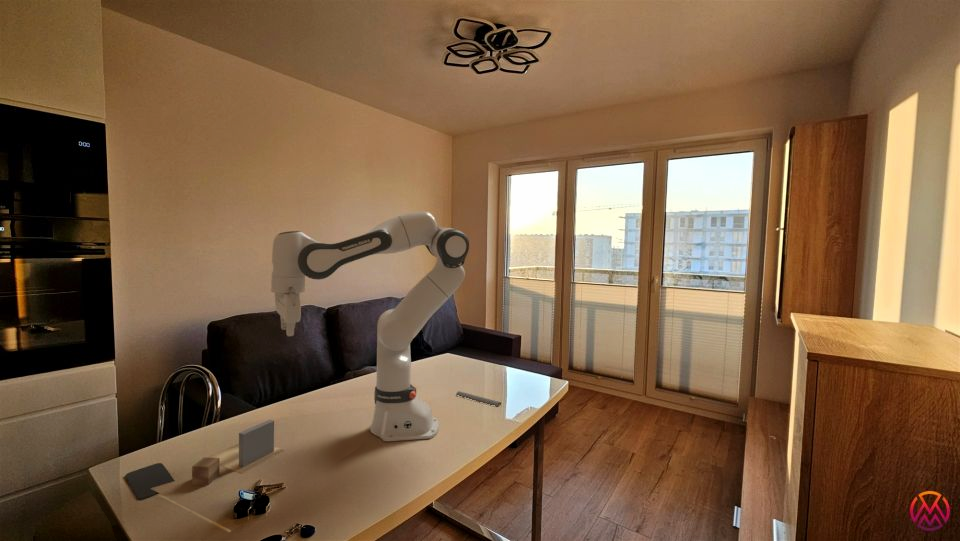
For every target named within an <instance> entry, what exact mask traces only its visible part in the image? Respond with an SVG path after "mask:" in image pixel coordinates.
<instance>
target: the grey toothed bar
mask: <svg viewBox="0 0 960 541" xmlns="http://www.w3.org/2000/svg"><path fill="white" fill-rule="evenodd" d="M456 395H459V396H462V397H466V398H469V399H472V400H476V401H479V402H478V403H480V402H483V403H487V404H490V405H489V406H491V405H495V406H497V407H498V405H499V404H500V405H501V404H502V402H501V401H498V400H494V399H489V398H487V397H483V396H479V395H474V394H471V393H468V392H464V391H460V390H459V391H457V392H456V394H455V396H456ZM469 399H468V400H469ZM472 400H471V401H472ZM476 401H475V402H476ZM483 403H482V404H483ZM487 404H486V405H487ZM500 405H499V406H500Z"/></svg>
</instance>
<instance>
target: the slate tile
mask: <svg viewBox="0 0 960 541" xmlns="http://www.w3.org/2000/svg"><path fill="white" fill-rule="evenodd" d="M238 444H239V466H241V467H245V466H247V465H249V464H251V463H253V462H255V461H257V460H259V459H261V458H263V457H265V456H266V455H268V454H270V453H272V452H274V447H275V420H272V419H268V420H266V421H264V422H261V423H259V424H257V425H255V426H252V427H249V428H247V429H244V430H242V431H240V432H238Z"/></svg>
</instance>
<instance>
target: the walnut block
mask: <svg viewBox="0 0 960 541" xmlns="http://www.w3.org/2000/svg"><path fill="white" fill-rule="evenodd" d="M220 466H221V465H220V458H208V457H202V458H201V459H200V460H198V461H197V462H196V463H195V464H193V465H192V466H191V475H192V476H191V485H194V486H195V485H196V486H198V485H199V486H200V485H201V486H202V485H203V486H204V485H205V486H209V485H210V484H211V483H212V482H214V481H215V480H216V479H217V478H218V477H220Z"/></svg>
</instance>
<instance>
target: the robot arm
mask: <svg viewBox="0 0 960 541" xmlns="http://www.w3.org/2000/svg"><path fill="white" fill-rule="evenodd" d="M419 246H425V247H426V249H427V251H428V252H429V253H430V254H431V255H432V256H434V257H435V258H436V263H435V264H434V266H433V268H432V269H431V270H430V271H429V272H427V273H426V274H425V275H424V277H422V278H421V279H420V280H419V281H418V282H417V283H416V284H415V285H414V286H413V287H412V288H411V289H410V290H409V291H408V292H407V293H406V295H405V296H404V297H403V298H402V300H401V301H400V302H399V303H398V304H397V305H396V306H395V308H391V309H388V310H386V311H384V312H383V313H382V314H381V315H380V316H379V318H378V320H377V326H376V330H377V331H376V332H377V335H376V384H375V387H374V393H373V394H374V396H373V398H374V404H375V405H374V413H373V418H372V421H371V425H370V429H369V431H370V432H371V433H372V434H373V435H375V436H376V437H379V438H380V439H381V440H382V441H383V442H397V441H398V442H399V441H409V440H410V441H411V440H413V441H414V440H425V439H426V440H428V439H431V438H433V437H435V436H436V435H437V433H438V431H439V428H440V426H439V425H440V424H439V420H438V418H436V417H435V416H433V412H432V408H431V406H430V405H429V404H428V403H427V402H425V401H424V400H422V399H421V398H420V397H418V396H417V385H415V386H413V385H412V383H411V378H412V377H411V374H412V373H411V370H412V358H411V357H412V356H411V343H412V342H413V339H415V338H416V337H417V335H418V334H419V333H420V331H421V330H422V329H423V328H424V327H425V325H426V324H427V322H428V321H429V319H430V318H431V317H433V315H435V313H436V312H437V311H438V310H439V309H440V308H441V307H442V306H443V305H444V304H445V303H446V302H447V301H448V300H449V299H450V298H451V297H452V295H454V294H455V292H456V291H457V290H458V289H459V287H460V286H461V285H462V284H463V281H464V280H465V278H466V271H465V269H464V268H465V267H463V265H464V264H465V260H466V258H467V255H468V253H469V250H470V241H469V238H468V237H467V235H466V234H465V233H464V232H463V231H462V230H459V229H456V228H453V227H440V226H439V225H438V223H437V220H436V218H435V216H433V214H431V212H428V211H427V210H425V211H424V210H423V211H414V212H409V213H404V214H400V215H397V216H395V217H392V218H389V219H387V220H385V221H382V222H381V223H379V224H377V225H376V226H375V227H374V228H372V229H370V231H367V232H366V233H364V234H362V235H359V236H355V237H352V238H349V239H347V240H344V241H339V242H335V243H323V242H320V241H318V240H315V239H314V238H312V237H310V236H309V235H307V234H305V233H304V231H301V230H300V231H299V230H295V231H294V230H293V231H292V230H291V231H283V232H280V233H278V234H276V235H275V237H274V239H273V243H272V250H271V251H272V252H271V263H272V267H273V268H272V272H271V281H270V282H271V288H270V290H271V292H272V293H274V302H275V311H276V312H277V314H278V315H279V316H280V317H279V318H280V328H281V330H282V331H283V330H285V331H286V333H285V334H286V336H287V337H294V335H295V327H296V323H299V322H300V321H301V319H302V318H301V316H302V314H301V313H302V311H301V310H302V307H301V305H302V304H301V302H302V301H301V293H304V292H305V291H306V290H305V289H306V288H305V287H306V278H309V279H312V280H318V281H319V280H325V279H327V278H328V277H331V275H333V274H334V273H335V272H336V271H337V270H338V269H339V268H341V267H343V265H344V266H345V265H346V264H350V263H352V262H354V261H357V260H360V259H361V260H362V259H364V258H367V257H370V256H372V255H374V256H375V255H382V254H383V255H384V254H385V255H387V254H388V255H389V254H395V253H399V252H404V251H407V250H411V249H413V248H416V247H419Z"/></svg>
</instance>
